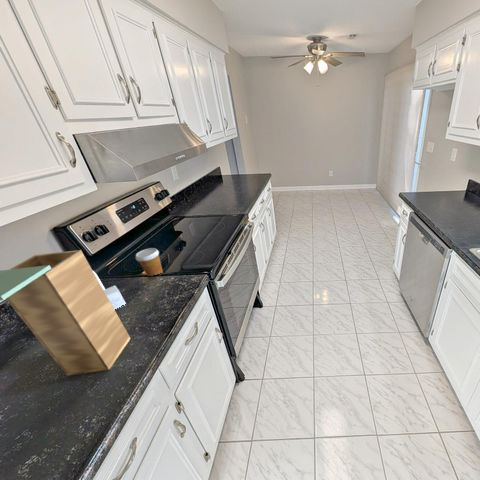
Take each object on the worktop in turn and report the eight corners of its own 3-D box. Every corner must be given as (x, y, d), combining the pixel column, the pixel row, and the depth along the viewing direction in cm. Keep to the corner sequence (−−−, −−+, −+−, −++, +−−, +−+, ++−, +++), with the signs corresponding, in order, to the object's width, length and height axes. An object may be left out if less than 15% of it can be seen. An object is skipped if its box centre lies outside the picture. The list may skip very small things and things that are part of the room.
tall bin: (66, 375, 75) (-10, 280, 60) (93, 343, 86) (35, 254, 70) (109, 369, 76) (45, 273, 61) (130, 338, 87) (81, 249, 71)
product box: (105, 306, 103) (96, 292, 100) (122, 298, 107) (115, 284, 104) (109, 313, 100) (100, 298, 96) (126, 304, 104) (119, 290, 100)
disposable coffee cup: (139, 278, 121) (129, 256, 116) (156, 267, 129) (147, 246, 124) (154, 280, 118) (144, 258, 113) (170, 269, 126) (162, 248, 121)
